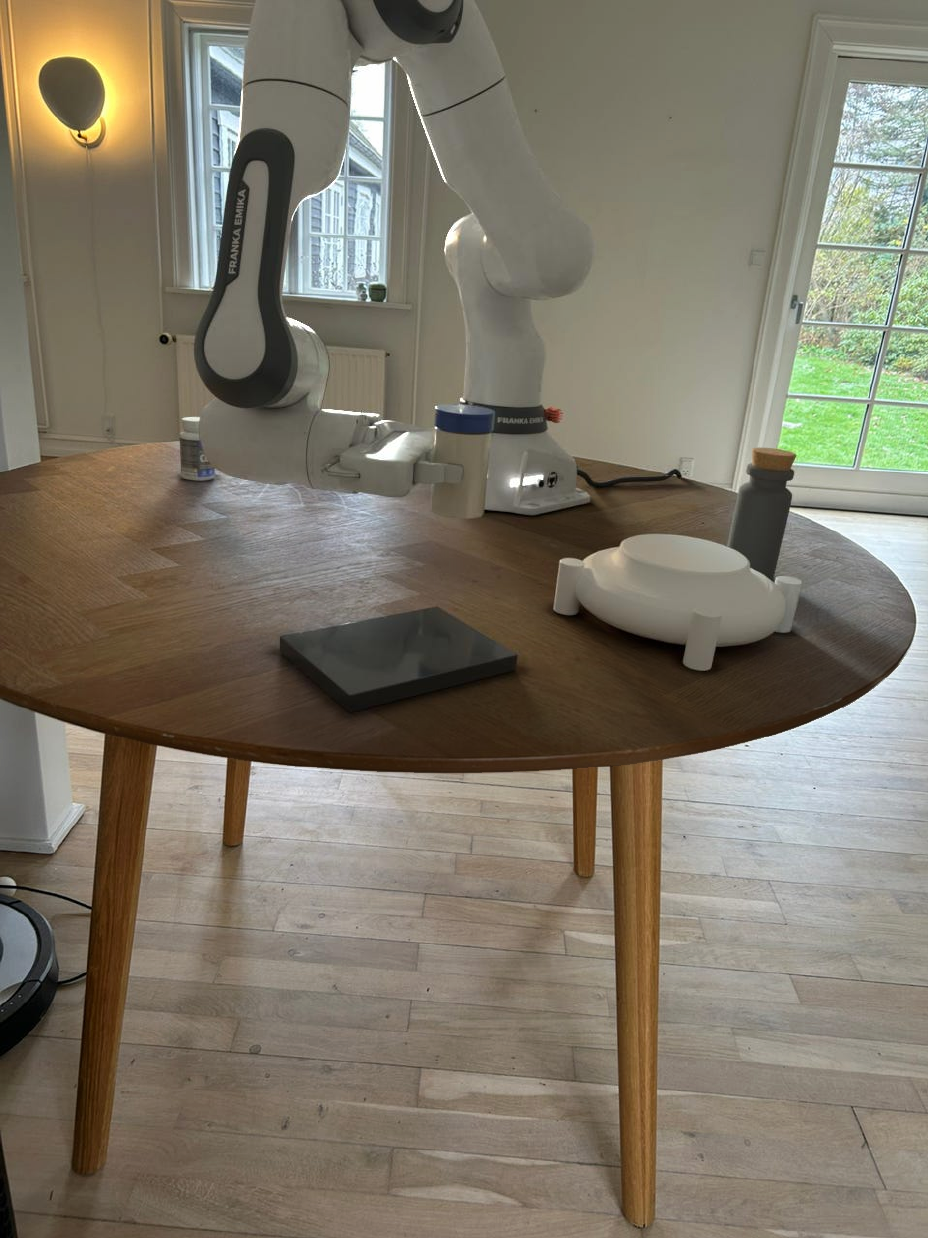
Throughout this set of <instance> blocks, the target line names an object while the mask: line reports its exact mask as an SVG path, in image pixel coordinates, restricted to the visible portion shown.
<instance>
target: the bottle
mask: <svg viewBox="0 0 928 1238" xmlns="http://www.w3.org/2000/svg"><path fill="white" fill-rule="evenodd" d="M751 456H752V457H751V463H748V464H747V465H746V469H745V473H746V474H747V475H749V481H748V482H745V483H743V484H741V485H740V486H739V488H738V491H737V497H736V502H735V506H734V510H733V515H732V519H731V525H730V529H729V535H728V540H727V545H726V546H727V547H729V548H732V549H734V550H736V551H738V552H739V553H741V554H742V555H743V556H745V557H746V558H747V559H748V561H749V562H750V568H752V569H754V570H755V571H757V572H759V573H761V574H763V575H765V576H766V577H767V578H768V579H770V580H771V581H772V582H774V579H775V578H774V577H775V573H776V570H777V566H778V561H779V557H780V553H781V548H782V543H783V539H784V536H785V532H786V531H785V530H786V528H787V522H788V519H789V513H790V509H791V505H792V500H793V493H792V492H791V491H790V489H788V488H787V484H788V483H787V482H791V481H792V480H794V476H795V470H794V469H792V467H793V464H794V463H795V460H796V458H797V454H796V453H794V452H793V451H790V450H786V449H780V448H774V447H773V448H772V447H753V448H752V449H751Z"/></svg>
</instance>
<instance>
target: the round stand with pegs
mask: <svg viewBox="0 0 928 1238" xmlns="http://www.w3.org/2000/svg"><path fill="white" fill-rule="evenodd" d="M556 578H557V579H556V585H555V592H554V593H555V594H554V600H553V601H554V602H553V611H554V612H555V613H557V614H560V615H563V616H574V615H577V614H578V613H579V610H580V604H581V605H582V606H583V607H584V609H586V610H587V611H588V612H589V613H590V614H591V615H593V616H594V617H596V618H597V619H599V620H600V621H602V622H604V623H606V624H608V625H610V626H612V627H614V628H616V629H618V630H621V631H624V632H626V633H630V634H632V635H636V636H639V637H643V638H646V639H650V640H654V641H659V642H664V643H669V644H675V645H681V646H685V649H684V653H683V658H682V664H683V665H684V666H685V667H687V668H688V669H690V670H694V671H699V672H700V671H702V672H704V671H710V670H711V669H712V665H713V661H714V656H715V652H716V648H723V647H724V648H725V647H732V646H741V645H742V646H744V645H748V644H752V643H755V642H758V641H761V640H763V639H765V638H767V637H768V636H770V635H772V634H774V632H775V633H780V634H784V633H785V634H786V633H789V632H791V630H792V627H793V623H794V618H795V614H796V610H797V606H798V602H799V599H800V594H801V590H802V586H803V581H802V580H800V579H799V578H797V577H793V576H788V575H778V576H776V577H775V580H774V581H773V582H772V581H771V580H770V579H768V578H767V577H766V576H765V575H763V574H761V573H759V572H757V571H755V570H754V569H752V568H750V562H749V561H748V559H747V558H746V557H745V556H743V555H742V554H741V553H739V552H738V551H736V550H734V549H732V548H729V547H727V545H724V544H721V543H719V542H715V541H711V540H708V539H703V538H698V537H694V536H689V535H688V536H687V535H680V534H679V535H678V534H672V533H671V534H669V533H667V534H666V533H647V534H638V535H633V536H629V537H628V538H625V539H623V540H622V541H621V542H620V544H619V546H616V547H615V546H614V547H610V548H606V549H601V550H598V551H596V552H593V553H592V554H590V555H588V556H586V557H585V558H584V559H582V560H581V559H578V558H573V557H563V558H561V559H559V562H558V572H557V577H556Z"/></svg>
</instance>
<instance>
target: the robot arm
mask: <svg viewBox="0 0 928 1238" xmlns="http://www.w3.org/2000/svg"><path fill="white" fill-rule="evenodd" d="M492 37H493V36H492V35H491V32H490V30H489V28H488V26H487V24H486V21H485V19H484V17H483V14H482V12H481V11H480V9H479V7H478V6H477V3H476V1H475V0H255V2H254V6H253V10H252V15H251V19H250V24H249V27H248V33H247V38H246V46H245V51H244V52H245V53H244V60H243V70H242V80H241V81H242V82H241V96H240V113H239V115H240V116H239V128H238V137H237V143H236V148H235V150H234V154H233V158H232V161H231V165H230V170H229V175H228V183H227V188H226V194H225V195H226V196H225V202H224V209H223V217H222V225H221V232H220V242H219V249H218V258H217V266H216V274H215V280H214V284H213V290H212V292H211V295H210V298H209V301H208V304H207V306H206V308H205V311H204V312H203V315H202V317H201V319H200V321H199V324H198V325H197V329H196V332H195V335H194V341H193V358H194V364H195V367H196V370H197V373H198V376H199V377H200V379H201V382H202V383H203V384H204V386H205V387H206V388H207V390H208V391H209V392H210V393H211V394H212V395H213V396H214V397H213V399H211V401H210V402H209V403H207V404H206V405H205V406H204V407H203V409H202V410H201V413H200V415H199V417H200V420H199V438H200V443H201V447H202V450H203V452H204V454H205V456H206V458H207V460H208V461H209V463H210V464H211V465H212V466H213V467H214V468H215V470H217V471H218V472H220V473H222V474H224V475H226V476H229V477H233V478H237V479H240V480H245V481H249V482H255V483H259V484H260V483H261V484H267V485H276V486H283V485H289V484H296V485H301V486H304V487H307V488H308V489H311V490H316V491H324V492H332V493H340V494H341V493H342V494H350V495H358V494H359V493H363V494H367V495H368V494H369V495H373V496H380V497H386V498H403V497H406V496H408V494H410V492H412V490H414V488H415V487H416V486H417V485H418V484H423V485H424V484H425V485H429V484H431V485H432V483H443V482H447V483H456V484H458V483H460V482H461V480H462V479H463V476H464V466H463V465H462V464H455V463H447V464H441V463H433V457H434V442H435V428H431V427H427V426H422V425H418V424H412V423H408V422H407V423H406V422H400V421H395V420H388V419H387V420H384V419H383V420H382V415H380V414H378V413H372V412H371V413H370V412H362V413H361V412H353V411H344V410H335V409H326V408H325V409H324V408H322V406H323V403H324V398H325V394H326V390H327V386H328V381H329V377H330V376H329V375H330V370H331V369H330V368H331V364H330V363H331V362H330V354H329V352H328V349H327V346H326V344H325V342H324V341H323V339H322V338H321V336H320V334H318V333H317V332H316V331H315V330H314V329H313V328H311V327H310V326H308V325H306V324H304V323H301V322H300V321H297V320H296V319H293V318H291V317H288V316H287V314H286V311H285V307H284V303H283V290H284V282H285V273H286V266H287V258H288V251H289V250H288V249H289V243H290V242H289V241H290V235H291V234H290V233H291V228H292V227H291V226H292V222H293V218H294V215H295V212H296V211H297V209H298V207H299V206H300V204H302V202H304V201H305V200H307V199H309V198H312V197H315V196H317V195H319V194H321V193H323V192H325V191H326V190H327V189H328V188H330V187H331V186H332V185H333V184H334V183H335V182H336V181H337V179H338V178H339V177H340V174H341V170H342V167H343V163H344V159H345V156H346V153H347V152H346V151H347V146H348V141H349V133H350V119H351V105H352V76H353V73H356V72H358V71H359V70H361V69H367V68H368V69H369V68H372V67H375V66H378V65H381V64H384V63H387V62H391V61H392V60H394V61H395V62H396V63H397V64H398V65H399V66H400V67H401V69H402V70H403V71H404V73H405V74H406V76H407V81H408V84H409V87H410V91H411V94H412V97H413V100H414V103H415V106H416V109H417V112H418V115H419V117H420V119H421V123H422V125H423V128H424V130H425V131H424V132H425V134H426V137H427V139H428V141H429V145H430V147H431V150H432V153H433V156H434V158H435V161H436V163H437V166H438V168H439V171H440V174H441V176H442V179H443V180H444V182H445V183H446V184H447V186H448V187H449V188H450V189H451V190H452V191H453V192H454V193H456V194H457V195H458V196H459V198H460V199H461V200H462V201H463V202H464V203H465V205H466V206H467V208H468V209H469V210H470V212H471V213H469V214H467V215H464V216H463V217H461V218H459V219H458V220H457V221H455V223H454V224H453V225H451V228H450V230H449V231H448V233H447V236H446V239H445V245H444V260H445V264H446V266H447V269H448V271H449V273H450V275H451V277H452V278H453V280H454V281H455V283H456V287H457V289H458V293H459V299H460V304H461V309H462V314H463V321H464V329H465V362H464V363H465V364H464V377H463V379H464V380H463V392H462V393H463V394H462V397H461V398H460V399H459V404H460V405H472V406H479V407H484V408H488V409H491V410H493V411H495V417H494V428H493V431H491V443H490V454H489V465H488V476H487V487H486V498H485V509H484V511H485V510H487V511H493V512H495V511H496V512H497V511H498V512H507V513H514V514H519V515H525V516H536V515H540V514H546V513H549V512H553V511H558V510H562V509H567V508H571V507H577V506H580V505H585V504H589V503H591V495H590V494H589V493H588V492H587V491H585V490H583V489H581V488H579V487H577V484H578V483H577V482H578V479H577V478H578V476H579V477H581V478H583V479H584V481H585V483H586V484H587V485H588V486H590V487H593V488H597V489H599V488H605V487H611V486H614V485H618V484H625V483H648V482H649V483H651V482H652V483H653V482H662V481H665V480H668V479H670V478H671V477H673V476H674V475H675V477H676V478H679V479H683V476H682V473H681V471H679V469H676V468H673V469H671V470H669V471H668V472H666V473H665V474H662V475H661V474H660V475H649V476H647V475H646V476H645V475H644V476H643V475H641V476H640V475H639V476H623V477H621V476H620V477H617V478H614V479H610V480H606V481H594V480H593V479H592V478H591V477H590V475H589V474H588V473H587V472H585V471H583V470H581V469H579V466H578V465H577V463H576V460H575V458H574V457H573V456H572V454H570V452H568V451H567V450H566V449H565V448H564V447H563V445H561V444H560V443H559V442H558V441H557V439H556V438H554V436H553V435H551V433H550V432H549V431H548V430H549V427H548V422H552V423H554V424H559V423H560V422H561V420H562V419H563V417H564V415H563V412H562V409H561V408H554V407H552V406H549V407H547V408H545V407H544V406H543V404H542V396H543V387H544V378H545V371H546V370H545V369H546V361H547V347H546V344H545V341H544V339H543V338H542V337H541V334H540V333H539V332H538V330H537V327H536V323H535V320H534V315H533V309H532V301H531V300H533V301H534V300H535V301H548V300H553V299H557V298H561V297H565V296H568V295H571V294H574V293H575V292H578V290H580V289H581V288H582V286H584V284H585V283H586V282H587V280H588V279H589V278H590V275H591V273H592V270H593V268H594V265H595V264H594V263H595V257H596V246H595V239H594V236H593V233H592V231H591V229H590V227H589V225H588V224H587V222H586V221H585V220H584V219H583V218H582V217H580V216H579V215H578V214H576V213H575V212H574V211H573V210H572V209H570V208H569V207H568V206H567V205H566V203H565V202H564V201H563V200H562V198H561V197H560V195H559V194H558V192H557V191H556V190H555V188H554V187H553V185H552V183H551V182H550V180H549V179H548V177H547V175H546V174H545V172H544V171H543V169H542V168H541V165H540V164H539V163H538V161H537V159H536V157H535V155H534V153H533V151H532V149H531V147H530V144H529V142H528V140H527V137H526V135H525V132H524V128H523V126H522V123H521V120H520V117H519V114H518V111H517V108H516V105H515V101H514V98H513V96H512V93H511V89H510V85H509V83H508V79H507V75H506V73H505V70H504V66H503V63H502V61H501V58H500V55H499V53H498V50H497V47H496V45H495V42H494V40H493V38H492ZM665 475H669V476H665Z"/></svg>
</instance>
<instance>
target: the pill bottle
mask: <svg viewBox="0 0 928 1238" xmlns="http://www.w3.org/2000/svg"><path fill="white" fill-rule="evenodd" d="M199 420H200V416H188V417H183V418H181V429H182V430H183V431H181V432H180V433H179V455H180V459H179V460H180V475H181V478H182V479H184V480H189V481H195V482H196V481H199V482H202V481H209V480H213V479H214V478H215V477H216V469H215V468H214V467H213V466H212V465H211V464H210V463H209V461H208V460H207V458H206V456H205V454H204V452H203V450H202V447H201V443H200V438H199Z"/></svg>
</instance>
